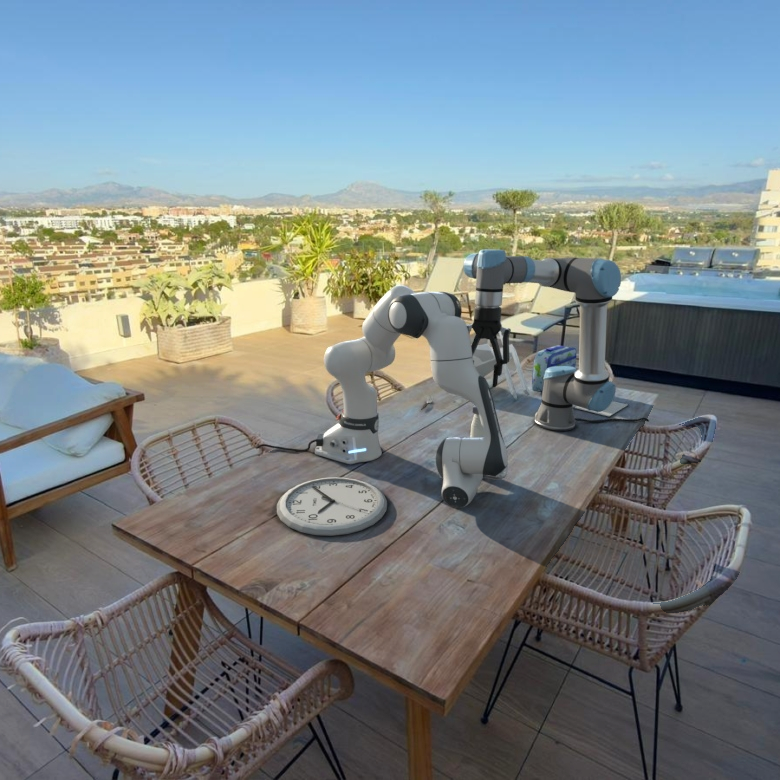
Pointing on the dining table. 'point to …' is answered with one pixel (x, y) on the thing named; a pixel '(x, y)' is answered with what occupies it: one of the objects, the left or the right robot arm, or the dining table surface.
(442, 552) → the dining table surface
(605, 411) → the invitation card
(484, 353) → the white plastic object
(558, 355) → the lunch box
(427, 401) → the fork
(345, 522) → the wall clock
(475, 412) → the cap
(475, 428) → the bottle
